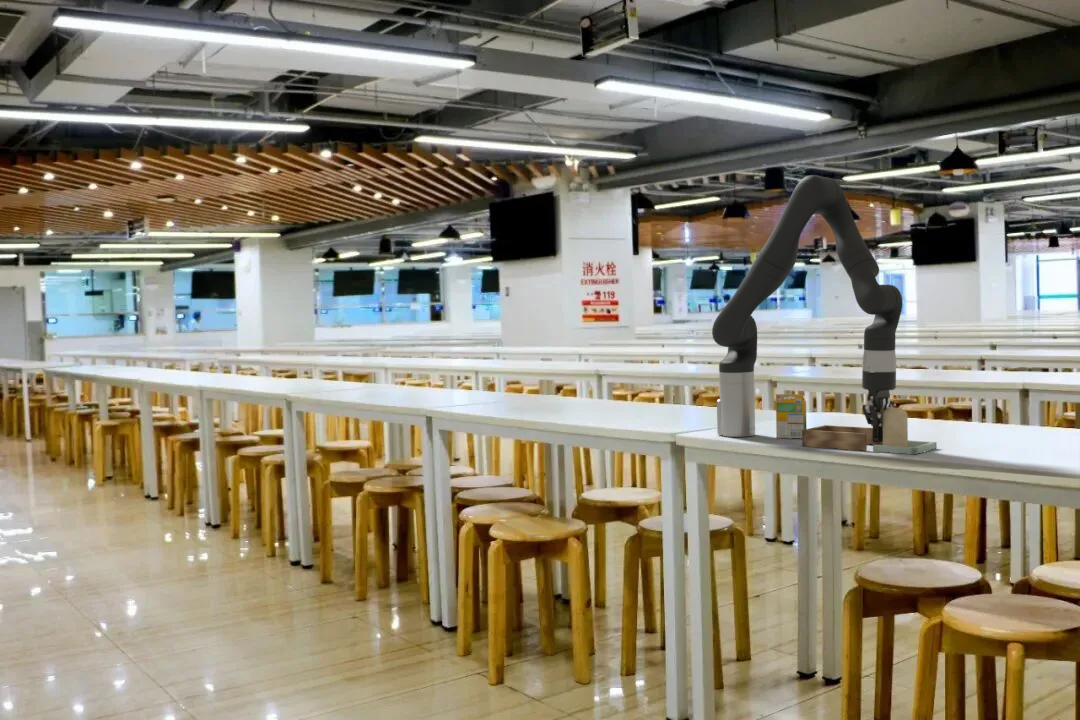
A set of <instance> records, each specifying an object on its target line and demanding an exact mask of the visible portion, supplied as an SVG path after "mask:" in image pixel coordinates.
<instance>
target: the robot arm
mask: <svg viewBox="0 0 1080 720" xmlns="http://www.w3.org/2000/svg"><path fill="white" fill-rule="evenodd" d="M814 215H821V217H823V218H822V219H824V220H825V221H826V223H827V224H828V225H829V227H830V228H831V231H832V233H833V236H834V240H835V241H834V242H835V249H836V253H837V257H838V259H839V262H840V263H841V265H842V267H843V269H844V270H845V272H846V274H847V275H848V277H849V278H850V281H851V285H852V289H853V294H854V297H855V301H856V303H857V305H858V307H859V308H860V309H861V311H863V312H864V313H866V314H867V315H872V316H873V315H874V318H873V322H872V324H869V325H868V326H867V327H865V329H864V333H863V334H864V335H863V355H862V369H861V370H862V371H861V372H862V374H861V375H862V376H861V377H862V378H861V379H862V380H861V385H862V386H861V387H862V389H863V390H868V391H867V397H866V399H867V401H866V404H862V407H861V408H862V412H863V414H864V417H865V421H866V422H867V425H870V426H871V427H872V428H873V431H872V441H873V442H877V443H880V442H883V419H882V417H883V413H884V411H885V410H886V409H887V408H888V407H894V408H895V401H894V400H891V394H890V391H893V390H895V389H896V388H897V355H896V334H897V333H896V332H897V329H898V325H899V322H900V318H901V313H902V311H903V310H902V309H903V297H902V293H901V291H900V290H899V289H898V287H896V286H895V285H892V284H880V283H879V282H878V281H877V279H876V278H877V276H878V275H879V273H880V267H879V264H878V263H877V261H876V259H875V258H874V256H873V254H872V252H871V250H870V249H869V247H868V245H867V244H866V242H865V240H864V239H863V237H862V234H861V232H860V230H859V229H858V225H857V223H856V221H855V219H854V217H853V214H852V212H851V209H850V205H849V204H848V201H847V199H846V195H845V193H844V190H843V188H842V187H841V184H840V183H839V182H838V181H837V180H835V179H834V178H831V177H825V176H821V175H817V174H810V175H806V176H805V177H802V179H800V180H799V182H798V183H797V184H796V185H795V187H794V189H793V190H792V194H791V196H790V197H789V200H788V202H787V204H786V206H785V208H784V210H783V213H782V214H781V216H780V218H779V220H778V221H777V223H776V225H775V227H774V229H773V230H772V232H771V233H770V236H769V237H768V238H767V241H766V243H764V245H763V247H762V248H761V250H760V251H759V252H758V254H757V256H756V258H755V260H754V261H753V263H752V265H751V266H750V269H749V270H748V272H747V273H746V275H745V277H744V278H743V280H742V281H741V283H740V284H739V286H738V288H737V289H736V291H735V293H734V294H733V296H732V297H731V298H730V299H729V301H728V302H727V304H726V305H725V306H724V307H723V309H722V310H721V312H720V313H719V314H718V315H717V317H716V318H715V320H714V322H713V325H712V329H711V331H712V332H711V333H712V339H713V341H714V342H715V344H717V345H718V346H721V347H724V348H725V347H726V348H727V353H726V355H725V357H723V359H721V360H720V361H719V363H718V371H719V375H718V376H719V377H718V379H719V399H717V400H716V418H717V419H716V421H717V423H716V426H717V430H716V431H717V435H718V434H719V436H722V435H723V437H732V438H735V437H737V438H740V437H741V438H743V437H751V436H755V435H756V402H755V401H756V400H755V399H756V398H755V397H756V395H755V364H756V361H757V358H758V357H757V356H758V352H757V351H758V327H757V324H756V320H755V318H754V317H753V316H752V314H753V313H754V311H755V310H756V309H757V308H758V307H759V306H760V305H761V304H762V303H763V302H764V301H765V300H767V299H768V298H769V297H770V296H772V295H773V294H774V293H775V292H776V291H777V290H778V289H779V288H780V287H781V286H783V284H784V283H785V281H786V280H787V278H788V276H789V274H790V273H791V271H792V270H793V268H794V266H795V264H796V262H797V259H798V253H799V244H800V238H801V234H802V232H803V231H804V230H805V229H804V228H806V226H807V224H808V223H809V221H810V220H811V218H812V217H813V216H814Z"/></svg>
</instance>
